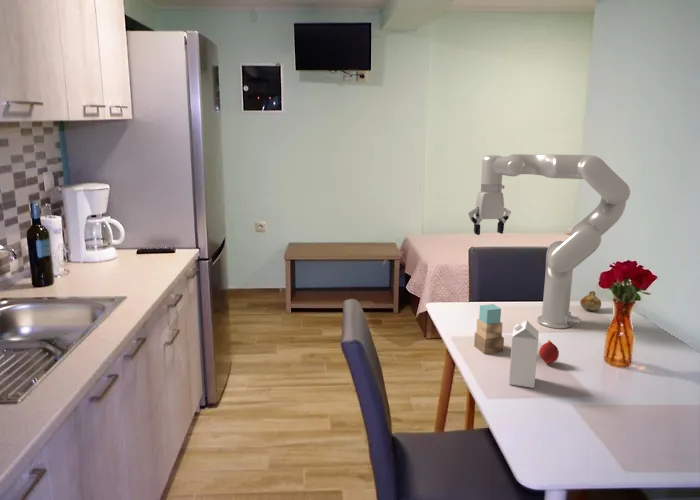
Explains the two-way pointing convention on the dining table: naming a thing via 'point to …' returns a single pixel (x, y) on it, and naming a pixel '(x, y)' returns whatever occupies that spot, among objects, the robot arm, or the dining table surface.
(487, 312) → the teal cube
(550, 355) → the onion
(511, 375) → the milk carton
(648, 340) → the dining table surface
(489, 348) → the walnut base block
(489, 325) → the oak middle block
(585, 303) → the onion
